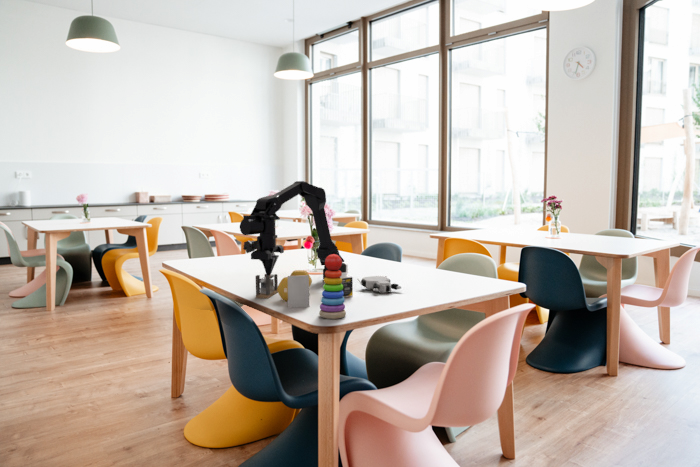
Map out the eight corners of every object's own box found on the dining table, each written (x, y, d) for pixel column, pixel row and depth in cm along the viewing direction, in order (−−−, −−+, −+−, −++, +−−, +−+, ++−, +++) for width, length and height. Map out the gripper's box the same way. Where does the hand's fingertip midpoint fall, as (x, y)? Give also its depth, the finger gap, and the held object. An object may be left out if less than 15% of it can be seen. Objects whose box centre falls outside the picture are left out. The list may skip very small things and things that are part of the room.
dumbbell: (301, 302, 174) (301, 278, 173) (275, 301, 175) (275, 278, 175) (313, 291, 193) (313, 269, 192) (289, 290, 194) (289, 269, 193)
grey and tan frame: (266, 292, 191) (265, 271, 191) (277, 292, 191) (277, 271, 190) (255, 298, 181) (255, 276, 180) (268, 298, 180) (267, 276, 180)
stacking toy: (333, 321, 149) (332, 256, 147) (313, 316, 154) (312, 254, 152) (351, 316, 155) (350, 254, 153) (332, 311, 160) (331, 251, 158)
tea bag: (309, 306, 167) (309, 276, 167) (288, 307, 166) (288, 277, 165) (308, 304, 171) (308, 274, 170) (288, 305, 170) (287, 275, 169)
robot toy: (403, 295, 189) (384, 285, 202) (403, 283, 188) (385, 274, 202) (373, 298, 184) (356, 287, 197) (373, 286, 183) (356, 276, 197)
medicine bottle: (334, 298, 179) (334, 264, 178) (326, 294, 186) (325, 261, 185) (352, 296, 183) (352, 262, 182) (343, 292, 189) (343, 260, 188)
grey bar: (268, 277, 190) (268, 273, 190) (273, 277, 190) (273, 273, 190) (259, 283, 181) (259, 279, 181) (264, 283, 180) (264, 279, 180)
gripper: (255, 230, 196) (256, 270, 198) (236, 235, 178) (237, 279, 180) (283, 230, 194) (284, 271, 196) (266, 235, 176) (268, 280, 178)
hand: (268, 275), depth 187 cm, fingers closed, pressing on grey bar
